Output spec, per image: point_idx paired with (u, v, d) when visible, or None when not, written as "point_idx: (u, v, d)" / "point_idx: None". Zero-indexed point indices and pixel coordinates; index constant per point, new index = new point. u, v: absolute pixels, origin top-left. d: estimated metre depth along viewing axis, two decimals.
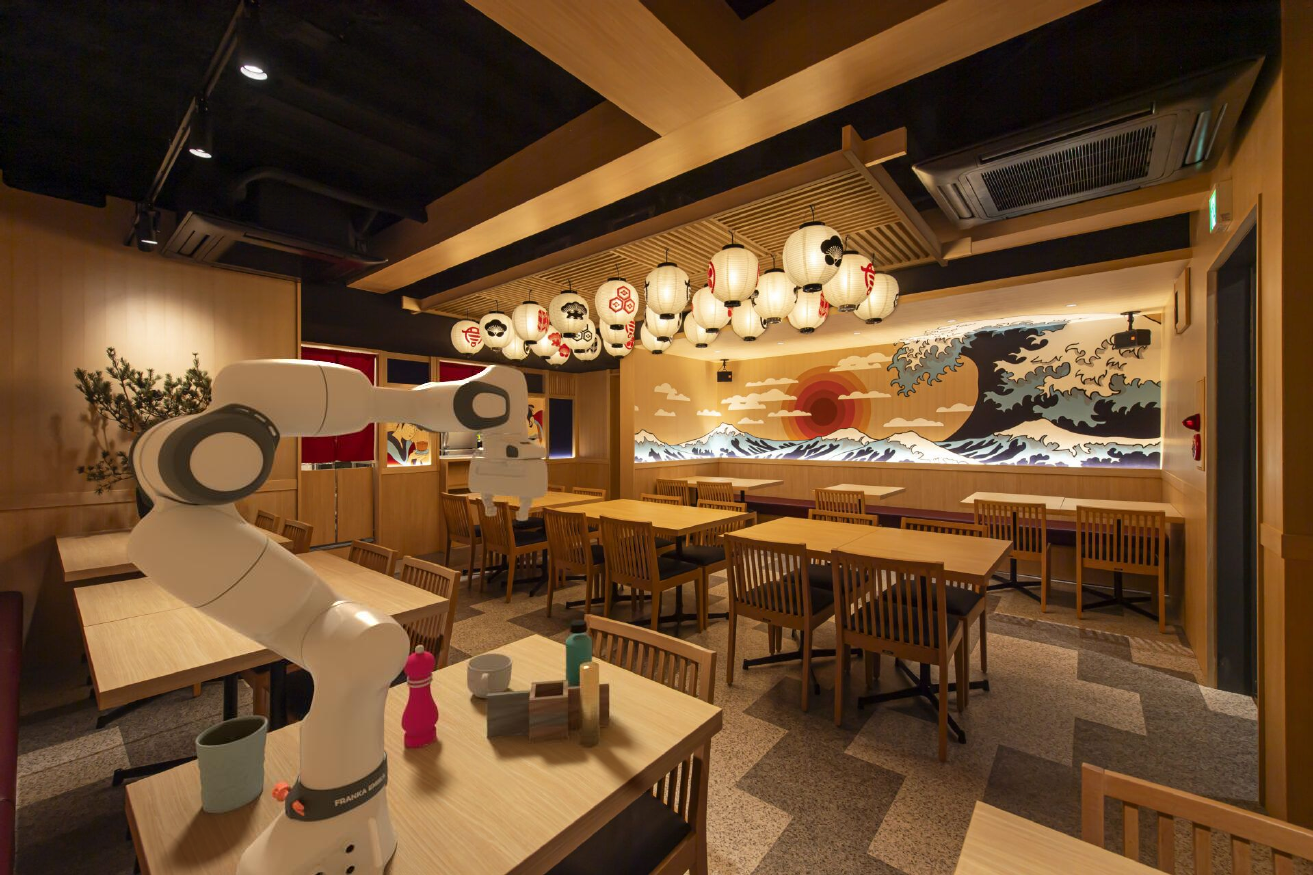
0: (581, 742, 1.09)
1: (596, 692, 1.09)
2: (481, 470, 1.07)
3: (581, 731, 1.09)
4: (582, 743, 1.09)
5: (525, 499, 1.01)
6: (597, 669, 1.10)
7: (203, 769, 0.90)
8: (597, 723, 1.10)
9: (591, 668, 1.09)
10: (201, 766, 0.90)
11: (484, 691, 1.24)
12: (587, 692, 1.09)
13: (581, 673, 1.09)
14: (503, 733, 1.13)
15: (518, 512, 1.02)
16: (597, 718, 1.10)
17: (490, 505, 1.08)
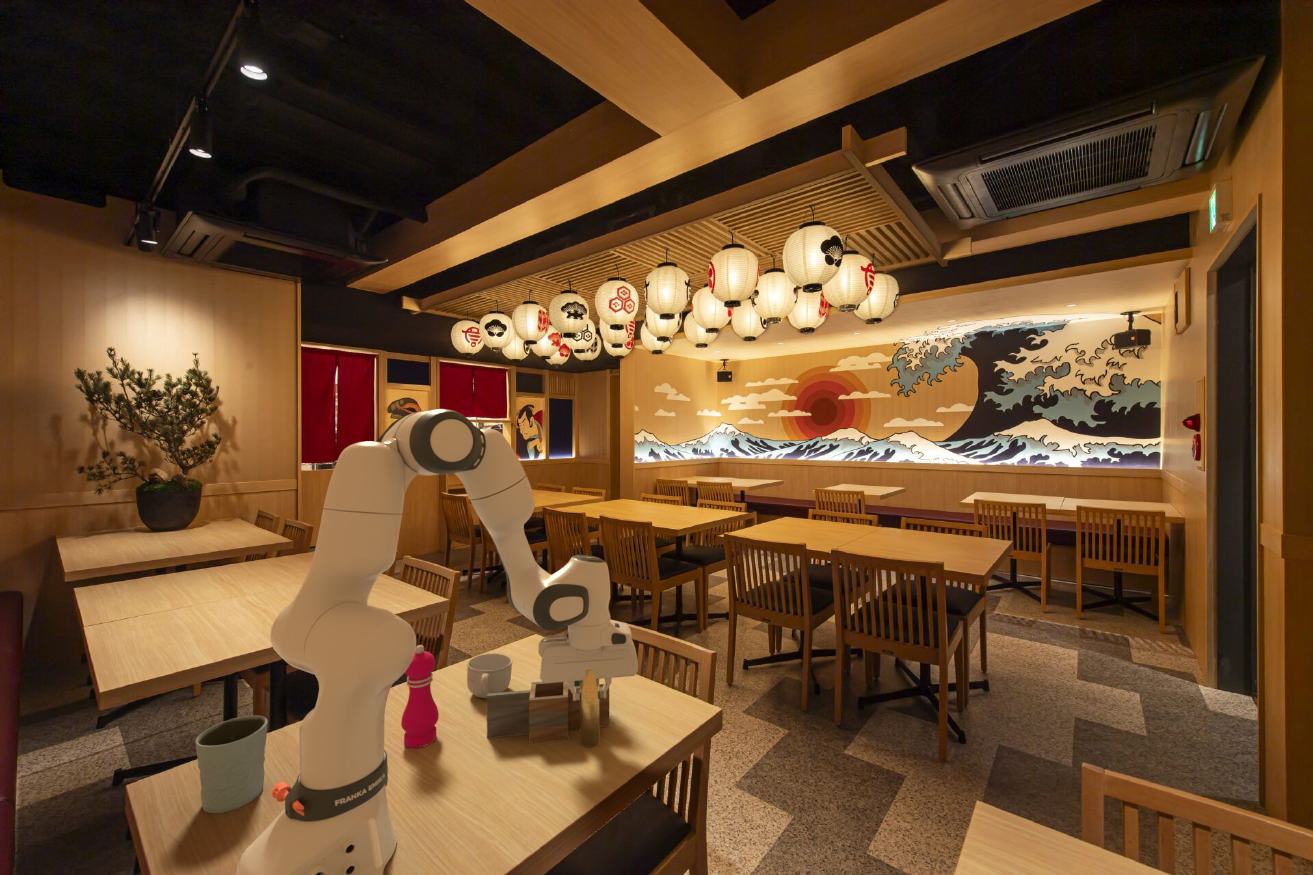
0: (581, 742, 1.09)
1: (596, 692, 1.09)
2: (561, 658, 1.08)
3: (581, 731, 1.09)
4: (582, 743, 1.09)
5: None
6: None
7: (203, 769, 0.90)
8: (597, 723, 1.10)
9: None
10: (201, 766, 0.90)
11: (484, 691, 1.24)
12: (587, 692, 1.09)
13: None
14: (503, 733, 1.13)
15: (602, 692, 1.10)
16: (597, 718, 1.10)
17: (575, 689, 1.10)
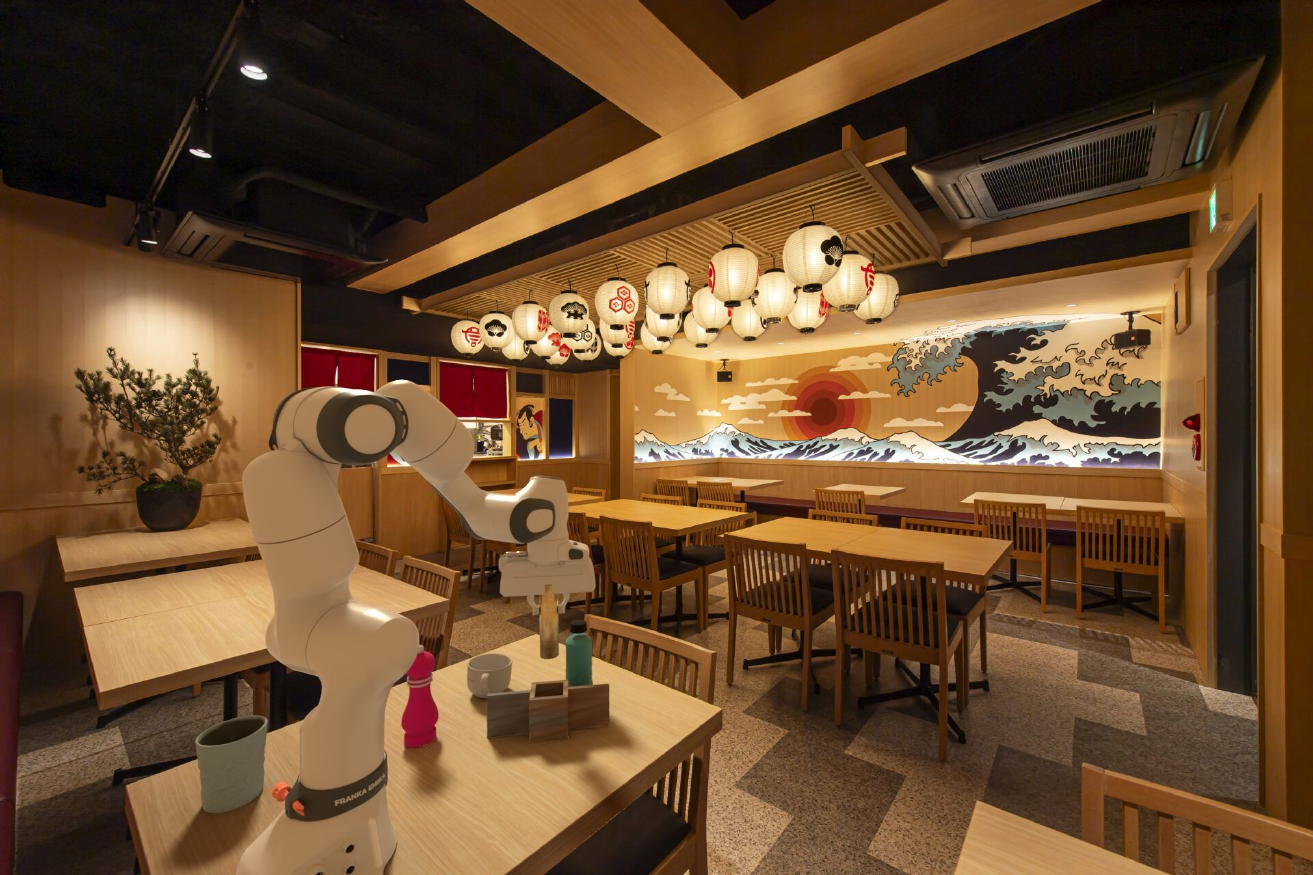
0: (540, 654, 1.14)
1: (555, 607, 1.14)
2: (520, 573, 1.12)
3: (540, 644, 1.14)
4: (541, 655, 1.13)
5: (569, 593, 1.15)
6: None
7: (203, 769, 0.90)
8: (556, 636, 1.14)
9: None
10: (201, 766, 0.90)
11: (484, 691, 1.24)
12: (546, 606, 1.13)
13: None
14: (503, 733, 1.13)
15: (561, 607, 1.14)
16: (556, 631, 1.14)
17: (534, 604, 1.14)
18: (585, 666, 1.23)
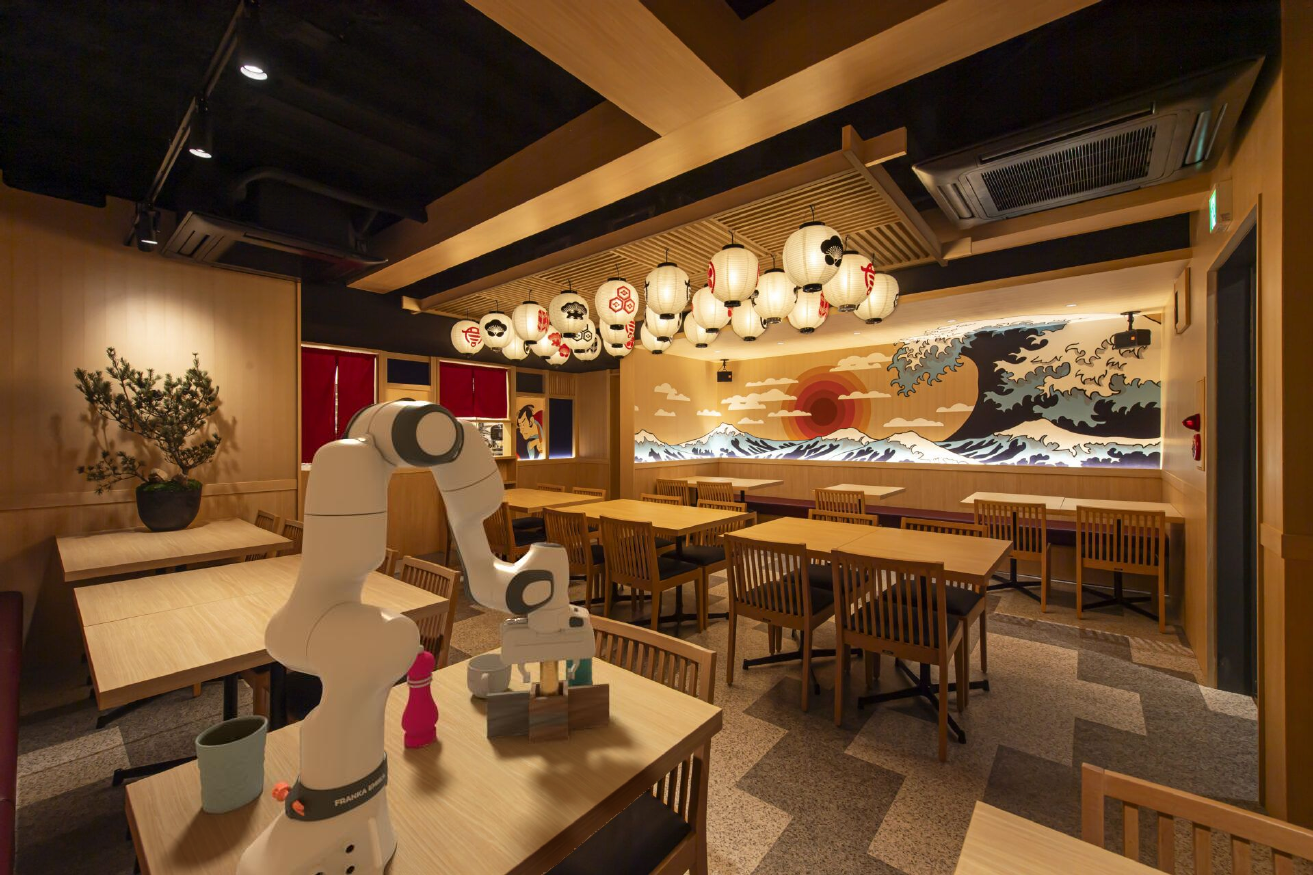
0: None
1: (555, 683, 1.14)
2: (520, 641, 1.12)
3: None
4: None
5: (579, 659, 1.15)
6: None
7: (203, 769, 0.90)
8: None
9: None
10: (201, 766, 0.90)
11: (484, 691, 1.24)
12: (546, 683, 1.13)
13: (540, 664, 1.13)
14: (503, 733, 1.13)
15: (570, 673, 1.15)
16: None
17: (525, 672, 1.14)
18: (585, 666, 1.23)
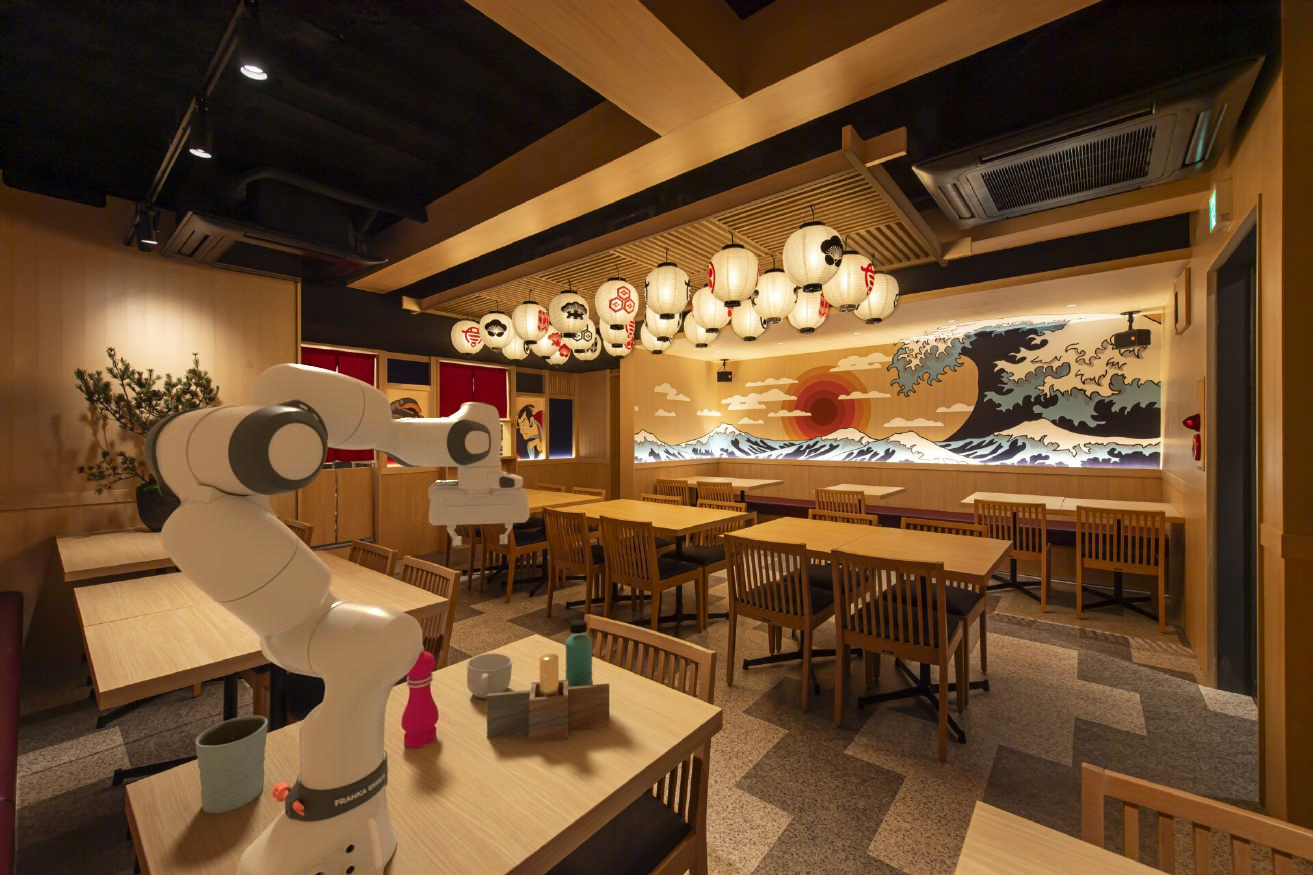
0: None
1: (555, 683, 1.14)
2: (450, 502, 1.09)
3: None
4: None
5: (511, 524, 1.12)
6: (556, 660, 1.14)
7: (203, 769, 0.90)
8: None
9: (550, 659, 1.13)
10: (201, 766, 0.90)
11: (484, 691, 1.24)
12: (546, 683, 1.13)
13: (540, 664, 1.13)
14: (503, 733, 1.13)
15: (502, 537, 1.12)
16: None
17: (456, 535, 1.11)
18: (585, 666, 1.23)
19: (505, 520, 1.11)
